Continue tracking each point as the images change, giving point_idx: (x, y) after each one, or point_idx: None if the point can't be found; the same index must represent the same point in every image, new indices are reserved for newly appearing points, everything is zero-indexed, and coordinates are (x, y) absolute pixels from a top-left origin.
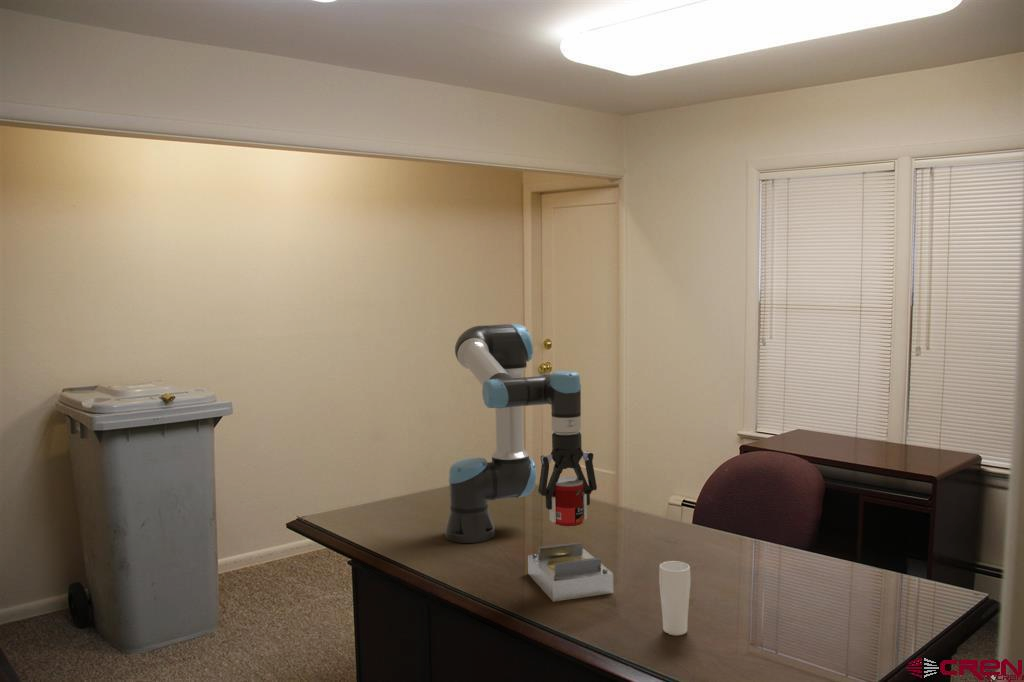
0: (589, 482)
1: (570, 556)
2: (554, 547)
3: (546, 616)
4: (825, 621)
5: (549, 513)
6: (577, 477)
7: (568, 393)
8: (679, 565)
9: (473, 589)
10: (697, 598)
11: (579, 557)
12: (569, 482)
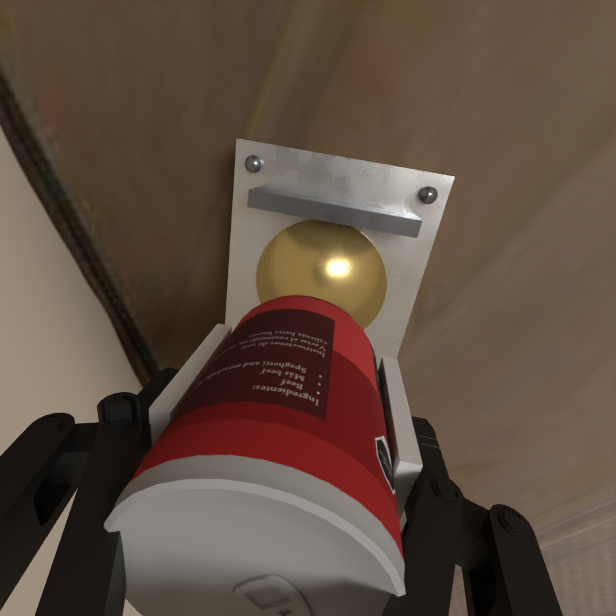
0: (497, 569)
1: (357, 237)
2: (305, 217)
3: None
4: (587, 599)
5: (204, 340)
6: (388, 606)
7: None
8: None
9: (80, 176)
10: (505, 465)
11: (377, 260)
12: (248, 609)
